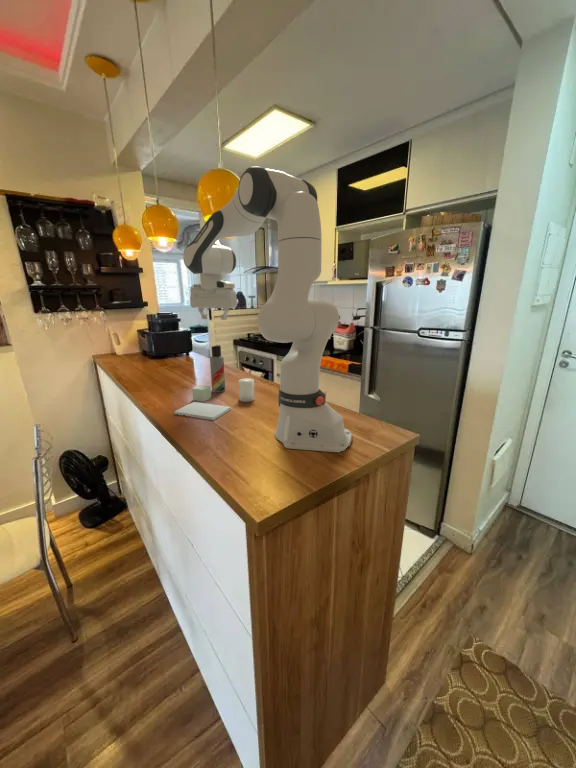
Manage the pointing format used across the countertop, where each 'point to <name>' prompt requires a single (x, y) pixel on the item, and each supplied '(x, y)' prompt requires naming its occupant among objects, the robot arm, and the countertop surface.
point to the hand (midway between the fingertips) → (214, 319)
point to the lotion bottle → (217, 369)
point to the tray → (203, 410)
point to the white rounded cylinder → (246, 390)
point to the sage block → (201, 393)
